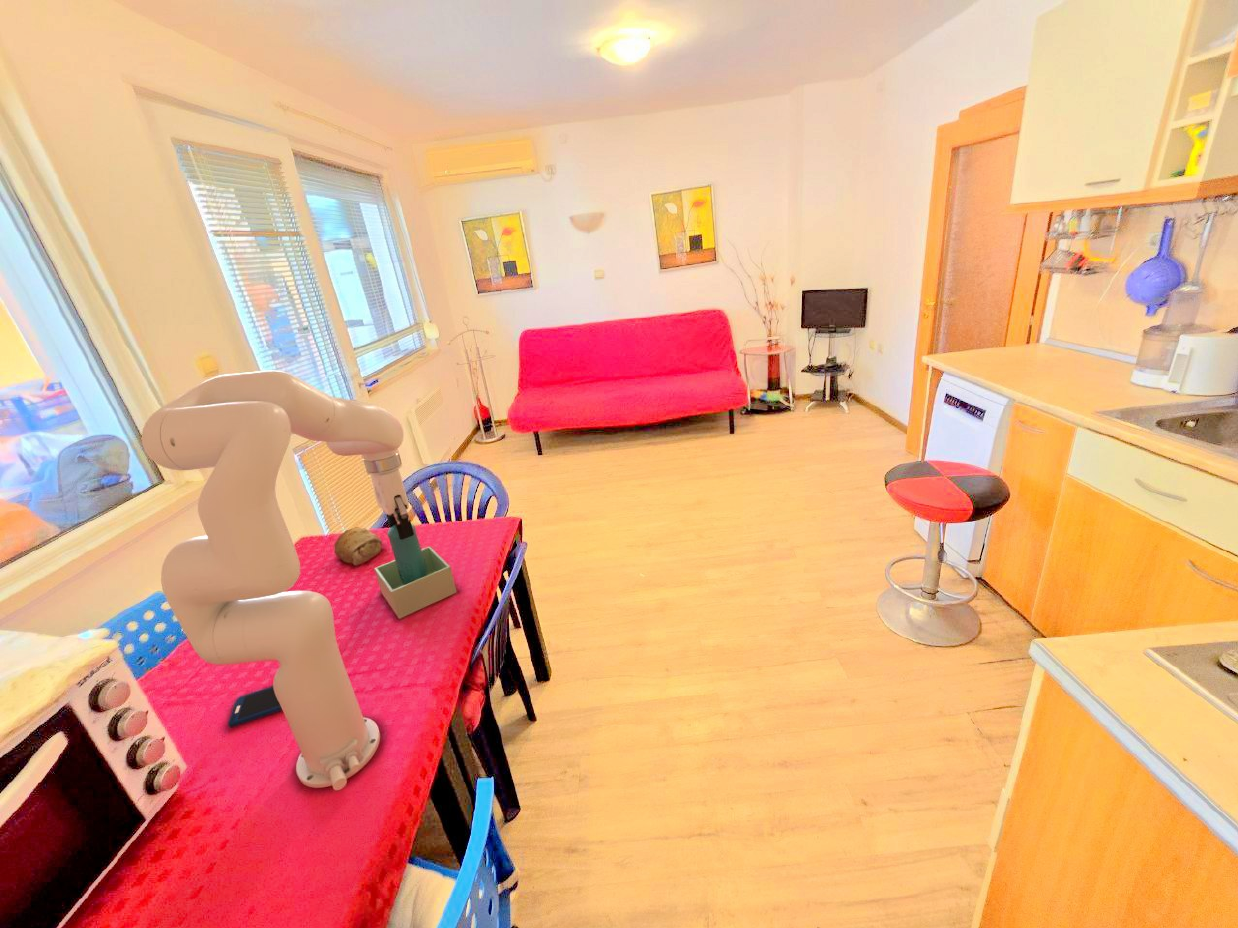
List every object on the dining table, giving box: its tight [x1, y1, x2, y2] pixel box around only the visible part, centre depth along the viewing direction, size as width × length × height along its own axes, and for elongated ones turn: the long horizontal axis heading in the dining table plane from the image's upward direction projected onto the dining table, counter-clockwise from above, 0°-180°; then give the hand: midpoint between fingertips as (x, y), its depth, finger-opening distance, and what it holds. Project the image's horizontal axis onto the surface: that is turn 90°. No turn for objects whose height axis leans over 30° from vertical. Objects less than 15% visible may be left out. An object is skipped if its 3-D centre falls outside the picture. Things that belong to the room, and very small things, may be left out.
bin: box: [374, 546, 457, 620], centre depth 126 cm, size 14×14×8 cm
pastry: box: [333, 526, 383, 567], centre depth 147 cm, size 14×12×8 cm
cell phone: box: [227, 685, 283, 728], centre depth 97 cm, size 7×14×1 cm, turn 114°
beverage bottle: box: [386, 513, 428, 585], centre depth 122 cm, size 6×7×20 cm
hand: (401, 531), depth 121 cm, fingers closed on beverage bottle, 6 cm apart
